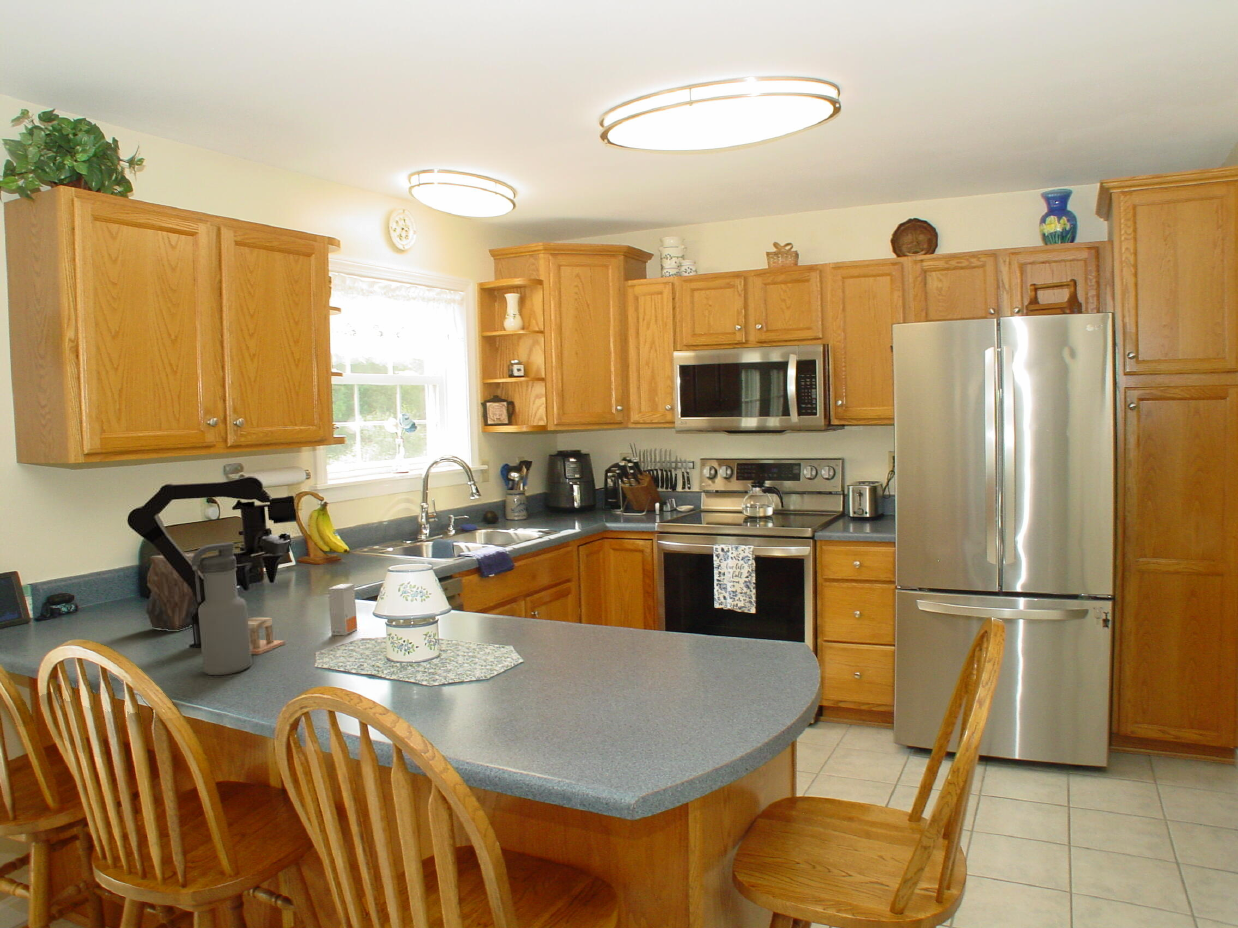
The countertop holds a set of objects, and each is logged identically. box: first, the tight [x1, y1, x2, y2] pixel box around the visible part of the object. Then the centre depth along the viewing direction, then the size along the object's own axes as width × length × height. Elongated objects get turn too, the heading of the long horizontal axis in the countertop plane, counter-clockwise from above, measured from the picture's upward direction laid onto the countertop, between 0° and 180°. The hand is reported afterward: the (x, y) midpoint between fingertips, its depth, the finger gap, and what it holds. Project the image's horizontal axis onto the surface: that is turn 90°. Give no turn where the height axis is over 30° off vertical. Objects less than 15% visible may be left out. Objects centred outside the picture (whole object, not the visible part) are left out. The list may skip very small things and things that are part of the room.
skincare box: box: [327, 583, 358, 636], centre depth 220 cm, size 6×4×12 cm
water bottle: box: [192, 541, 252, 676], centre depth 192 cm, size 10×10×28 cm
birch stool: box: [248, 617, 275, 649], centre depth 210 cm, size 6×6×6 cm
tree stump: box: [145, 551, 203, 630], centre depth 240 cm, size 13×13×20 cm
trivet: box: [250, 639, 286, 655], centre depth 210 cm, size 10×9×1 cm
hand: (259, 586), depth 220 cm, fingers open, 9 cm apart
